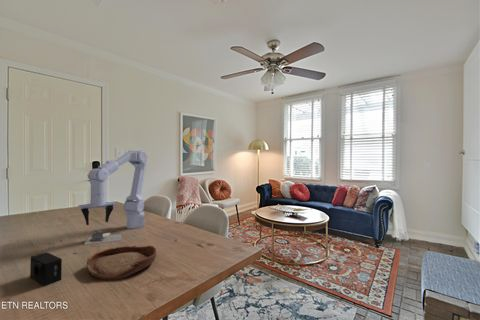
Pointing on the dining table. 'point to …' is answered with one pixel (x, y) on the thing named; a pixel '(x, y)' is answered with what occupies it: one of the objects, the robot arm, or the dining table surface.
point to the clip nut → (96, 235)
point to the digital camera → (45, 268)
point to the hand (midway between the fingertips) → (97, 223)
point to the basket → (120, 261)
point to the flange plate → (105, 239)
